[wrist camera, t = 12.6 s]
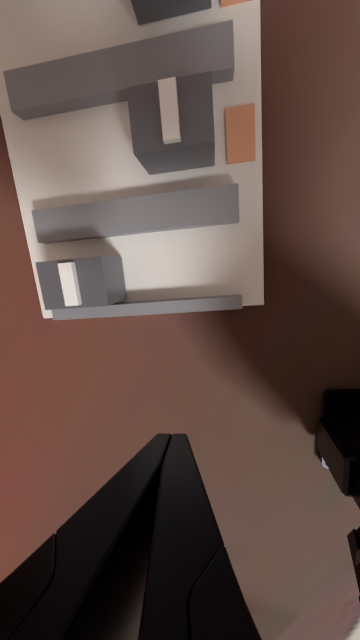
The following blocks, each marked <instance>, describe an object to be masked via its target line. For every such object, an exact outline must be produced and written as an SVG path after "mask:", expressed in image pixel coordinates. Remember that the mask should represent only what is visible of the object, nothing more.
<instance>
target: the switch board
mask: <svg viewBox="0 0 360 640" xmlns="http://www.w3.org/2000/svg"><path fill="white" fill-rule="evenodd" d="M207 71H211V74H212V94H213V115H214V135H215V166H210V167H203V168H196V169H189V170H182V171H175V172H168V173H161V174H154V175H149V174H148V172H147V171H146V170H145V169H144V167H143V166H142V165H141V163H140V162H139V161H138V159H137V158H136V157H135V155H134V154H133V145H132V136H131V127H130V118H129V110H128V101H127V92H126V88H127V87H132V86H137V85H142V84H147V83H152V82H157V81H158V80H161V79H166V78H171V77H175V78H177V77H182V76H187V75H192V74H197V73H202V72H207ZM0 115H1V120H2V124H3V129H4V134H5V139H6V143H7V148H8V153H9V157H10V162H11V167H12V172H13V176H14V181H15V186H16V191H17V195H18V200H19V205H20V210H21V214H22V219H23V224H24V228H25V233H26V238H27V243H28V247H29V252H30V257H31V262H32V266H33V271H34V276H35V280H36V285H37V290H38V295H39V299H40V304H41V309H42V314H43V318H53V320H66V319H83V318H100V317H116V316H133V315H150V314H167V313H183V312H200V311H217V310H234V309H242V306H252V305H264V266H263V189H262V112H261V35H260V0H211V8H210V9H206V10H201V11H197V12H193V13H189V14H184V15H180V16H176V17H172V18H167V19H163V20H159V21H155V22H150V23H146V24H142V25H138V22H137V19H136V16H135V13H134V9H133V6H132V3H131V0H0ZM96 256H114V257H122V264H123V272H124V279H125V287H126V294H127V298H126V299H123V300H121V301H119V302H116V303H114V304H112V305H109V306H100V307H85V308H70V309H55V310H45V306H44V301H43V296H42V292H41V287H40V282H39V277H38V272H37V268H36V263H35V262H44V261H55V260H65V259H75V258H85V257H96Z"/></svg>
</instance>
